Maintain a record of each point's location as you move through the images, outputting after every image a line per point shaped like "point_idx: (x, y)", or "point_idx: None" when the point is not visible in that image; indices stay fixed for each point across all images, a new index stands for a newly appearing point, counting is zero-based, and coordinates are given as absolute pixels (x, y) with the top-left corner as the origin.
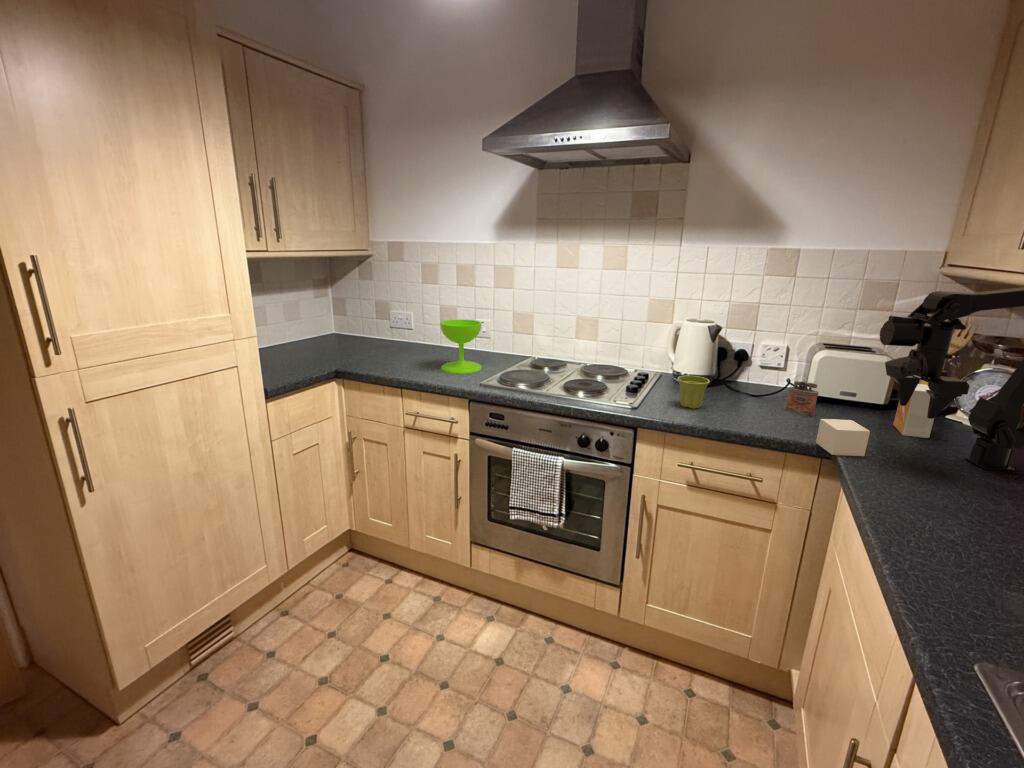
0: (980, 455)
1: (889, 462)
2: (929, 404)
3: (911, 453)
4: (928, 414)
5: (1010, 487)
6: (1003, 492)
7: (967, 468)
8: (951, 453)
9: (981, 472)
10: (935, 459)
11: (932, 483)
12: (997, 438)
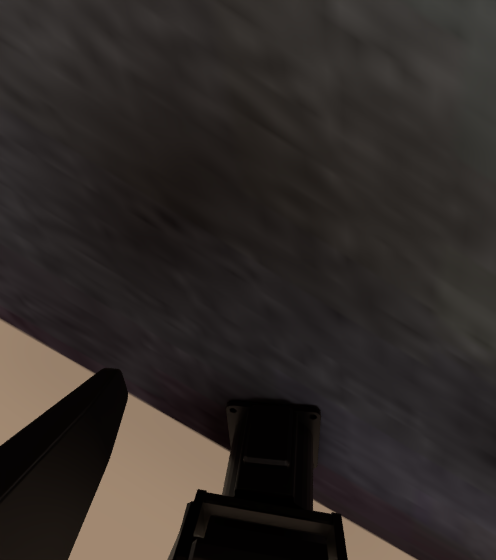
0: (248, 432)
1: (243, 81)
2: (2, 486)
3: (370, 270)
4: (87, 391)
5: None
6: (61, 334)
7: (234, 363)
8: (369, 403)
9: (208, 378)
10: (307, 319)
11: (37, 146)
12: (188, 518)
